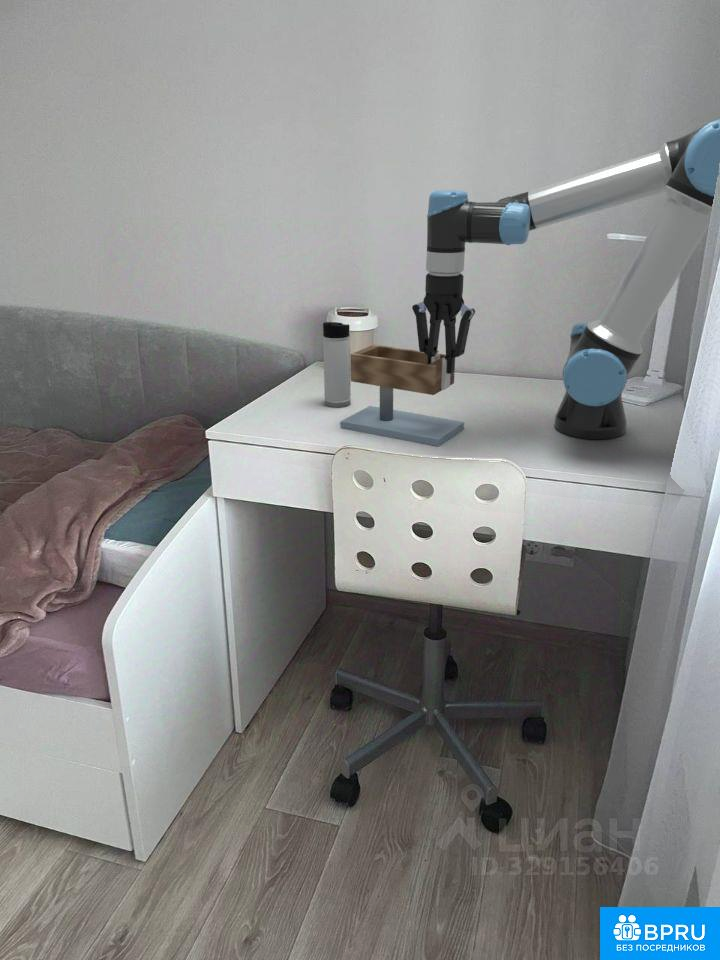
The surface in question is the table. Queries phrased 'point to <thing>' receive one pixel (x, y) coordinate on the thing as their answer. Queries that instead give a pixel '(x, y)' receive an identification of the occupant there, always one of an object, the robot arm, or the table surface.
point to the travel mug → (336, 364)
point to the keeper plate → (402, 423)
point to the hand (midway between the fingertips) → (440, 386)
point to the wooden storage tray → (397, 369)
